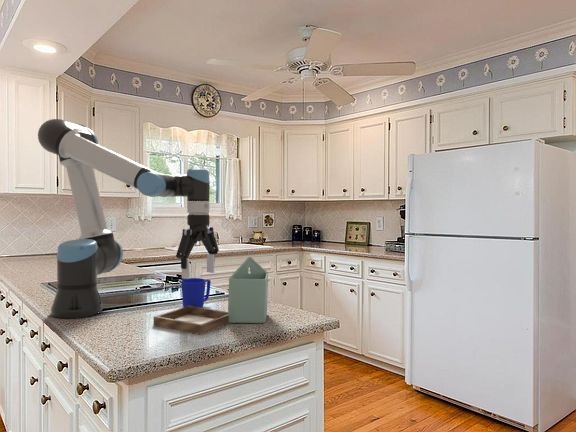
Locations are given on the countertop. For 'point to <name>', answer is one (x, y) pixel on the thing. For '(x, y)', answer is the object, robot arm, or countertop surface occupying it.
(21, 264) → the countertop surface
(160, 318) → the brown wooden tray
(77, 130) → the robot arm
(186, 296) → the mug
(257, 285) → the planter
